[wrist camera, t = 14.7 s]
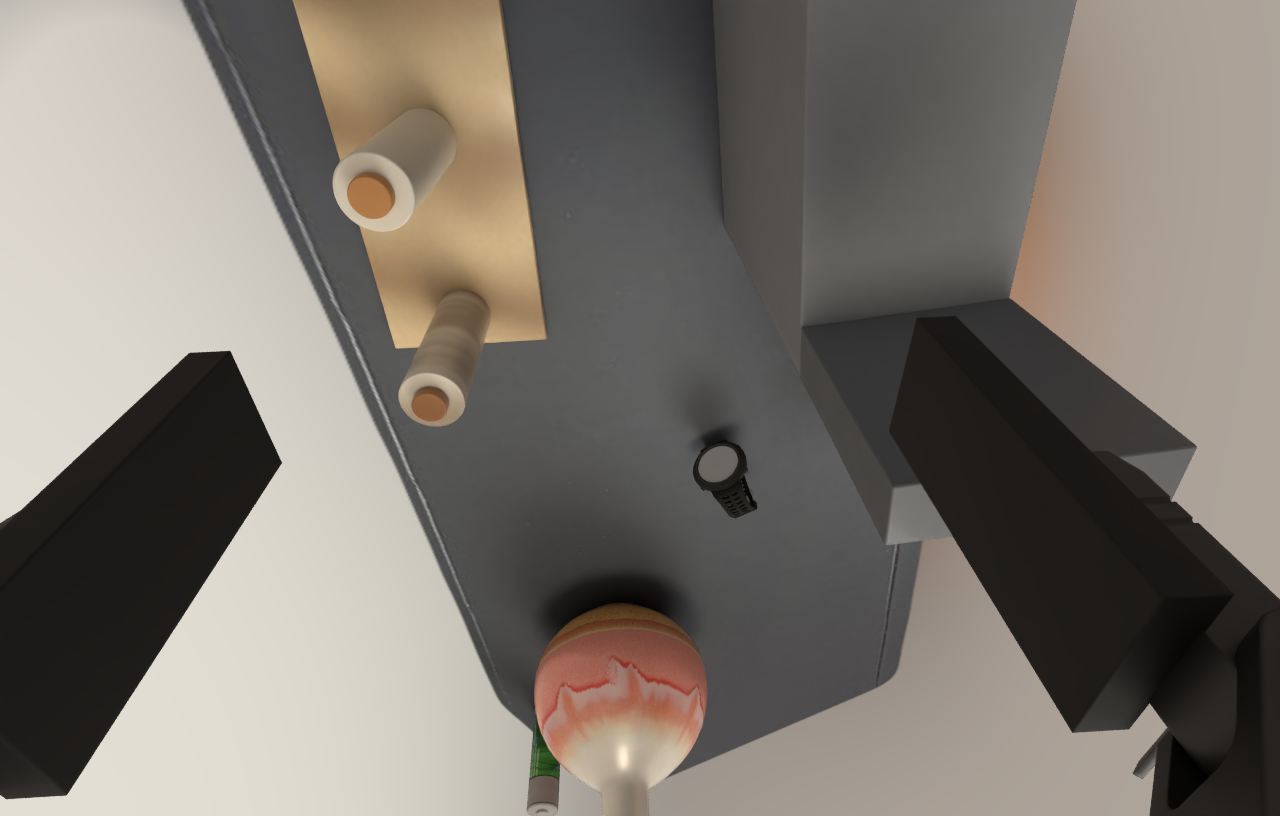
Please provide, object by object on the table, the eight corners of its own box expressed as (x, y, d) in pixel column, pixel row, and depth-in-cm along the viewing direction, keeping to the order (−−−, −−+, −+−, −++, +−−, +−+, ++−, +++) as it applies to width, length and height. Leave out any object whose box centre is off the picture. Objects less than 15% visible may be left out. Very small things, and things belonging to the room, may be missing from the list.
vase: (708, 656, 58) (745, 882, 44) (565, 683, 60) (556, 912, 45) (681, 558, 51) (715, 793, 36) (517, 591, 52) (487, 832, 37)
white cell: (403, 96, 30) (335, 140, 22) (465, 125, 31) (420, 179, 23) (387, 155, 32) (318, 217, 24) (446, 182, 33) (399, 250, 25)
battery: (529, 710, 62) (520, 817, 54) (545, 697, 61) (538, 804, 53) (551, 718, 63) (546, 824, 55) (568, 706, 62) (564, 812, 54)
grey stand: (695, -326, 24) (1213, -1847, 4) (883, -357, 23) (2443, -2118, 4) (723, 226, 36) (884, 546, 16) (848, 208, 35) (1168, 509, 16)
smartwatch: (746, 424, 43) (762, 472, 39) (747, 480, 46) (762, 530, 42) (686, 431, 44) (696, 479, 39) (691, 487, 46) (701, 537, 42)
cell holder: (251, -165, 25) (76, -233, 17) (477, -174, 26) (418, -246, 17) (398, 342, 38) (342, 449, 30) (547, 333, 39) (533, 436, 30)
